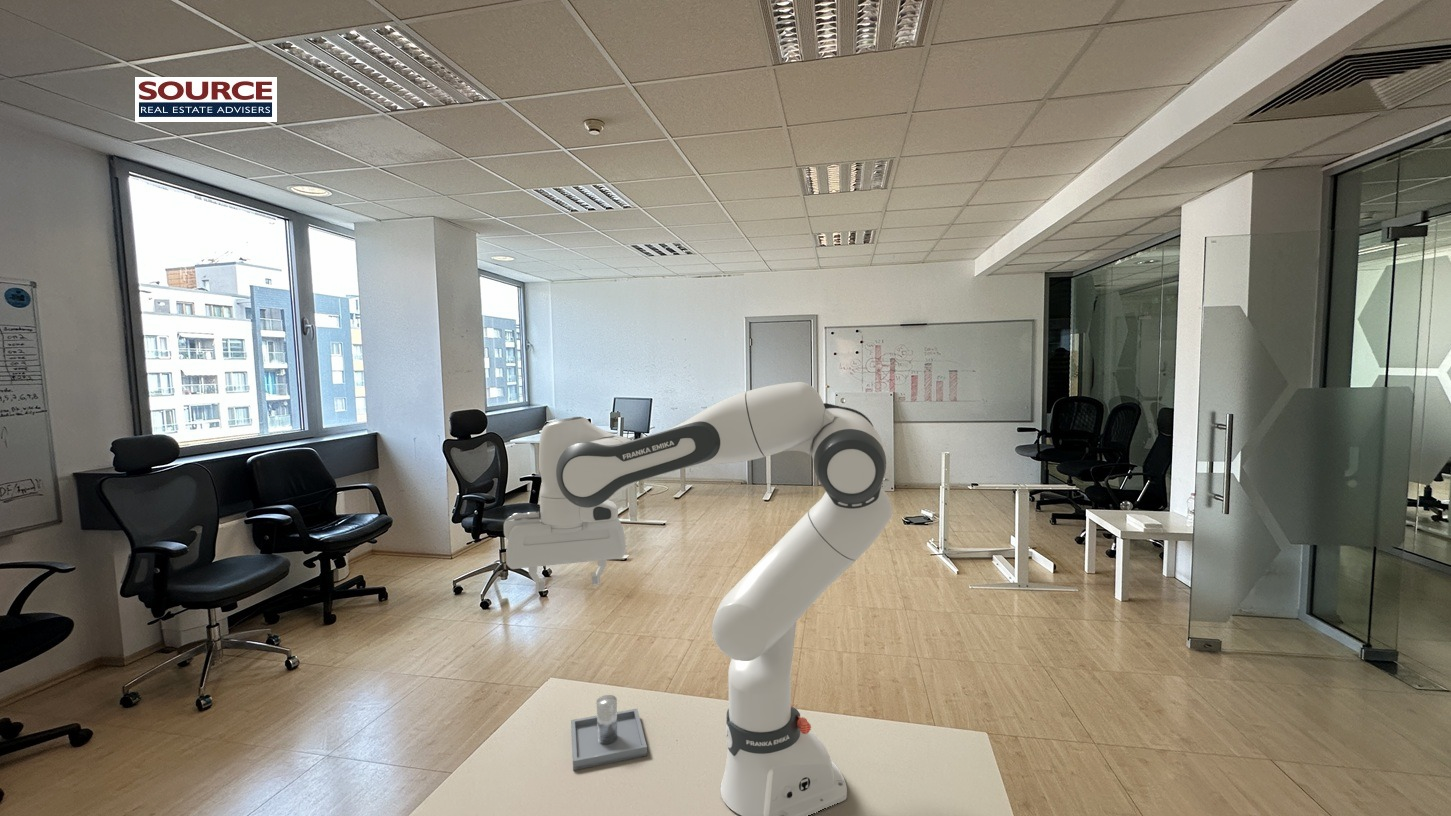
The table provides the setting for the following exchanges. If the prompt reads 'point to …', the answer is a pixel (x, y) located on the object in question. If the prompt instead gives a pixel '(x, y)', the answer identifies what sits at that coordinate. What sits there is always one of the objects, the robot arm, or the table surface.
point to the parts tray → (623, 748)
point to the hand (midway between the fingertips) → (568, 587)
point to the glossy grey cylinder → (607, 719)
